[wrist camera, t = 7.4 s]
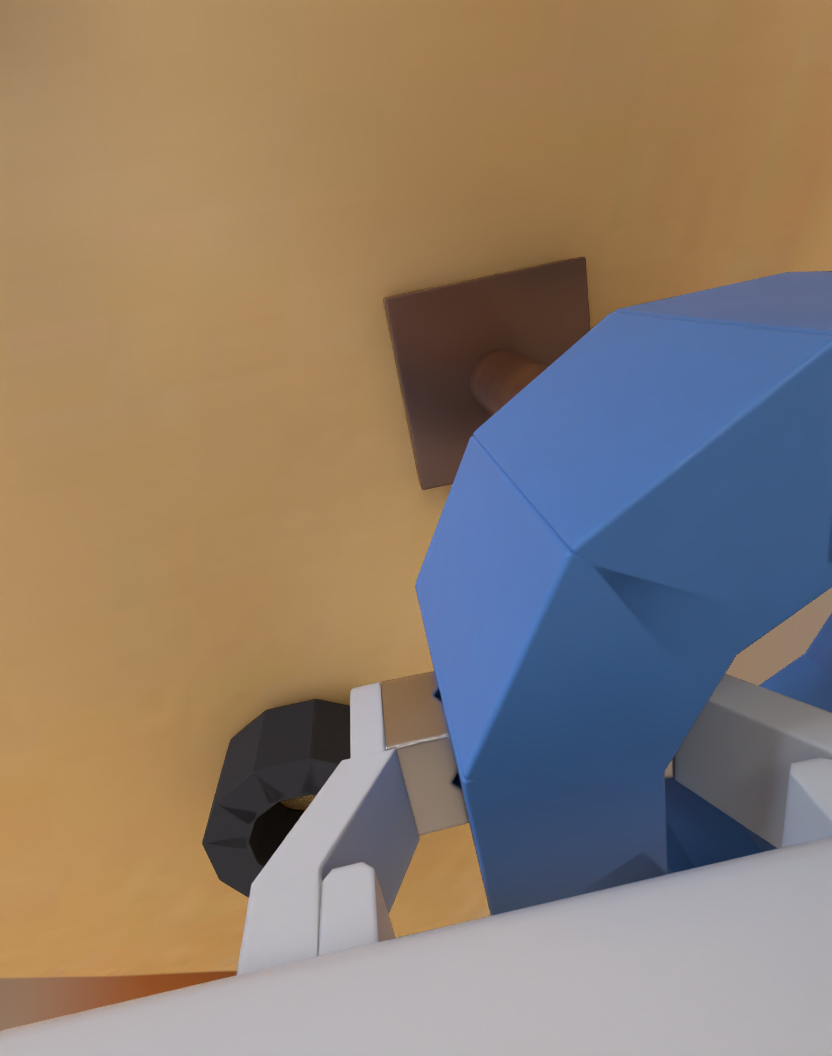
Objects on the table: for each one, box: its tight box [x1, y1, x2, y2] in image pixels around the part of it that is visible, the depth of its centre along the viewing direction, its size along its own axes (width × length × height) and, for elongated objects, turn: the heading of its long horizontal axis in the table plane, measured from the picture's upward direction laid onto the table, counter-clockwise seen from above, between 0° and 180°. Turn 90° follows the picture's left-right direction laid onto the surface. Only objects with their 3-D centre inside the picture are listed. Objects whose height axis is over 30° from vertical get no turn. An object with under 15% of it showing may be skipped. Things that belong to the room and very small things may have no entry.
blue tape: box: [415, 271, 832, 916], centre depth 10 cm, size 11×11×5 cm
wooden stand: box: [383, 257, 590, 490], centre depth 23 cm, size 9×9×12 cm
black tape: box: [202, 700, 351, 897], centre depth 35 cm, size 11×11×5 cm
